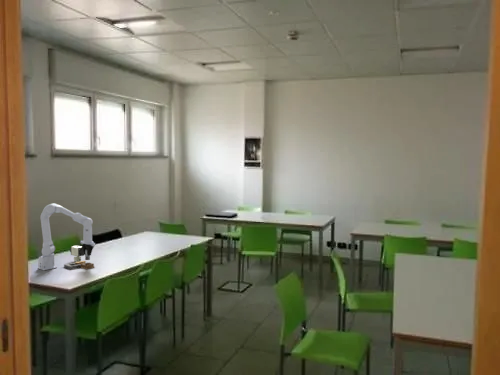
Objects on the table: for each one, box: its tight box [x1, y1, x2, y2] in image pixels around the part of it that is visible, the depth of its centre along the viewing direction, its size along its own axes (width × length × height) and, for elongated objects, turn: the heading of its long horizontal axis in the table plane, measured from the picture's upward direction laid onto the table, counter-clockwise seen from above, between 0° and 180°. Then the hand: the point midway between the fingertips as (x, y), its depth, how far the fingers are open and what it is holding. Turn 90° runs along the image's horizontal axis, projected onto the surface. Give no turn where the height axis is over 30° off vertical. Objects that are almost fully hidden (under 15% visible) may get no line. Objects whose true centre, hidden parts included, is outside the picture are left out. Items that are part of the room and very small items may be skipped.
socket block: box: [63, 262, 82, 270], centre depth 293 cm, size 8×8×2 cm
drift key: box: [74, 260, 87, 265], centre depth 298 cm, size 7×2×3 cm, turn 144°
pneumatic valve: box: [69, 244, 85, 263], centre depth 311 cm, size 6×12×12 cm, turn 59°
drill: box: [84, 249, 91, 261], centre depth 294 cm, size 3×3×7 cm
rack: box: [81, 262, 95, 270], centre depth 294 cm, size 6×6×3 cm
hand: (87, 255), depth 294 cm, fingers closed on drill, 3 cm apart
